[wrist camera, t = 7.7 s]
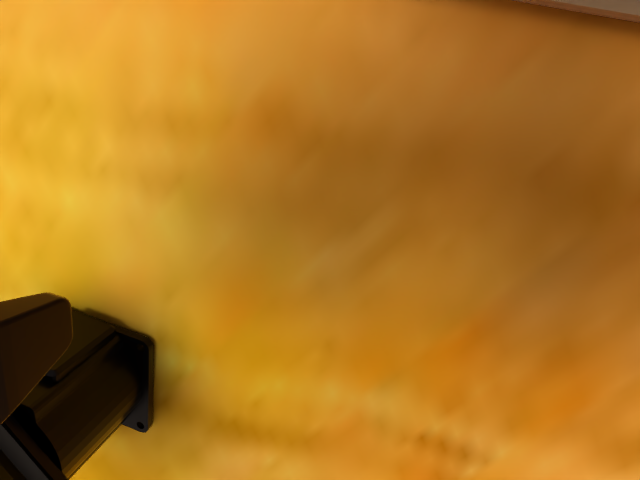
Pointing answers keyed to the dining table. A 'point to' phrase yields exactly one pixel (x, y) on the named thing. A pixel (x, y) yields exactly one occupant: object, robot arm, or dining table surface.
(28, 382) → the robot arm
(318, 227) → the dining table surface
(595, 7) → the base
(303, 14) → the dining table surface
